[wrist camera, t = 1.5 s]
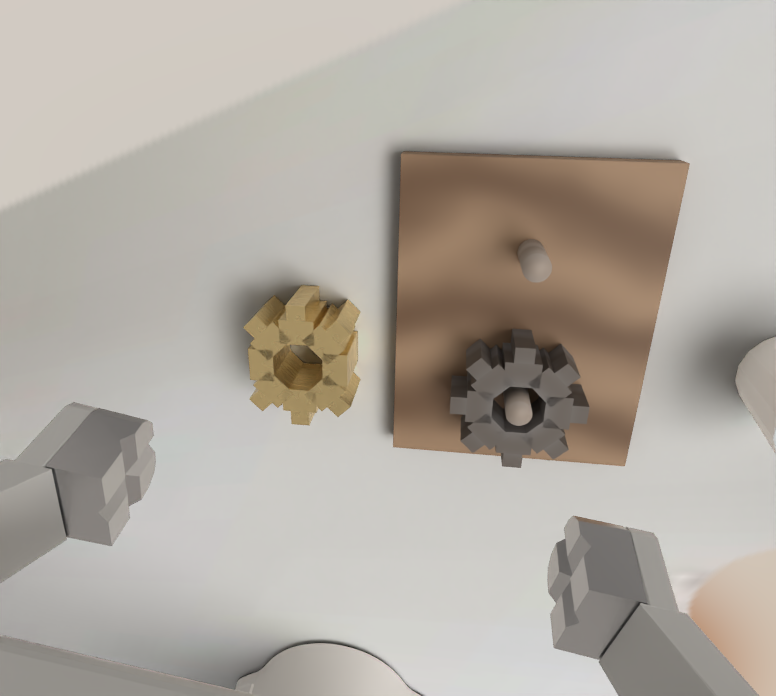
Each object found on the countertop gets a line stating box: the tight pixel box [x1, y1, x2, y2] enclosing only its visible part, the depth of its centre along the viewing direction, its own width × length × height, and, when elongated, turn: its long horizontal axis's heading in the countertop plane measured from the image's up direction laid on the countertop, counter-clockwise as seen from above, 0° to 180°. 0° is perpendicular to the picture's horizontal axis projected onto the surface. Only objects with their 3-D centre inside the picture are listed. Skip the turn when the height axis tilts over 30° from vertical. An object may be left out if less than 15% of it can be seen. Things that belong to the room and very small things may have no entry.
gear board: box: [393, 151, 690, 468], centre depth 37 cm, size 20×16×5 cm
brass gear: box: [243, 285, 360, 425], centre depth 40 cm, size 8×7×4 cm
